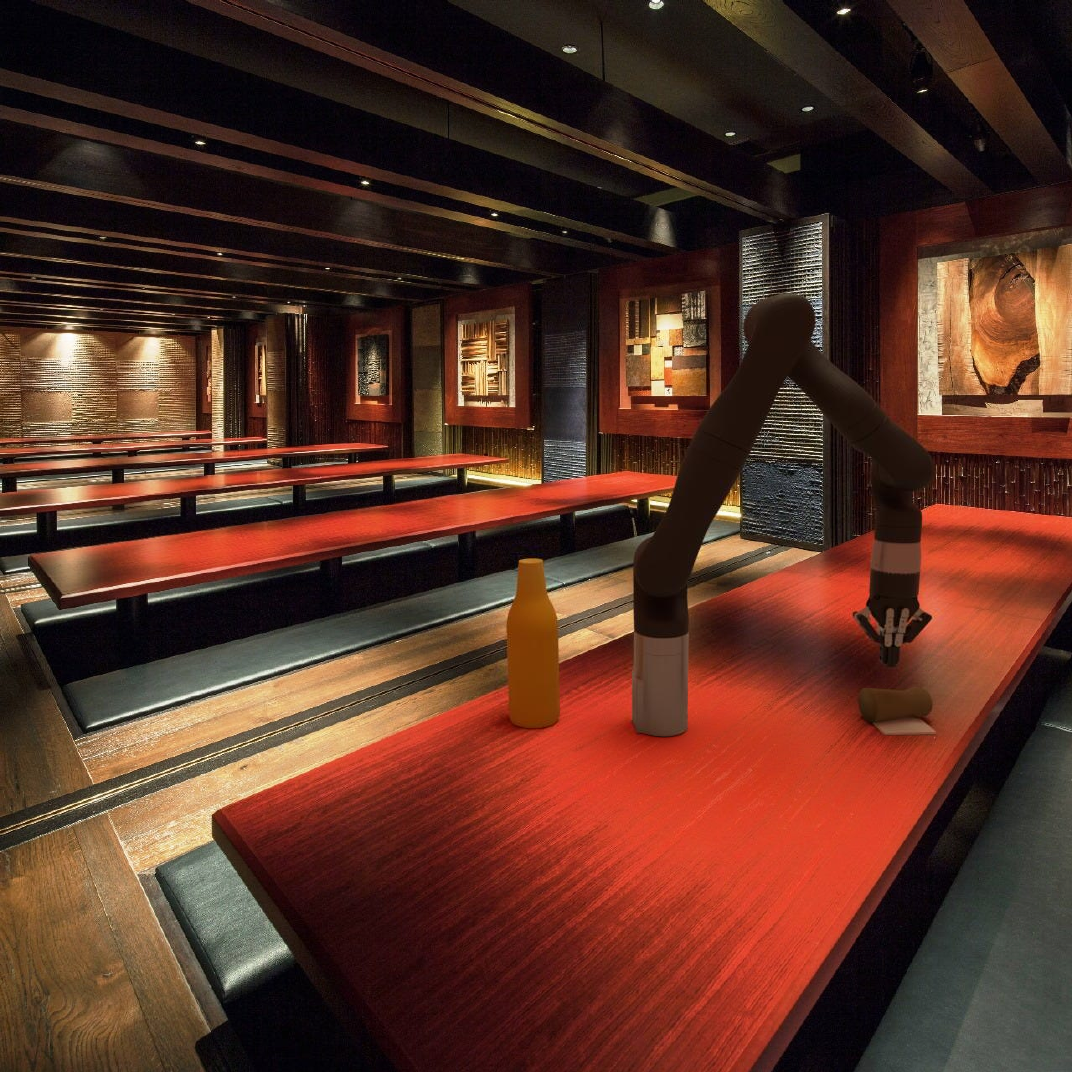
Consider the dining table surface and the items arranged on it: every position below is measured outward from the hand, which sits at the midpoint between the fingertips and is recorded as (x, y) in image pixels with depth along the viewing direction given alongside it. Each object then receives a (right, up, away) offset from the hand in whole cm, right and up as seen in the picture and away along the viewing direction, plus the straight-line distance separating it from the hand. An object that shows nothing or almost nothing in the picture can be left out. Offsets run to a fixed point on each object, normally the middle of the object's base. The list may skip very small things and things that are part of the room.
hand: (888, 665), depth 128 cm
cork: (-3, -7, +1) cm, 8 cm away
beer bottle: (-61, -11, +6) cm, 62 cm away
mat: (+2, -10, +2) cm, 10 cm away
